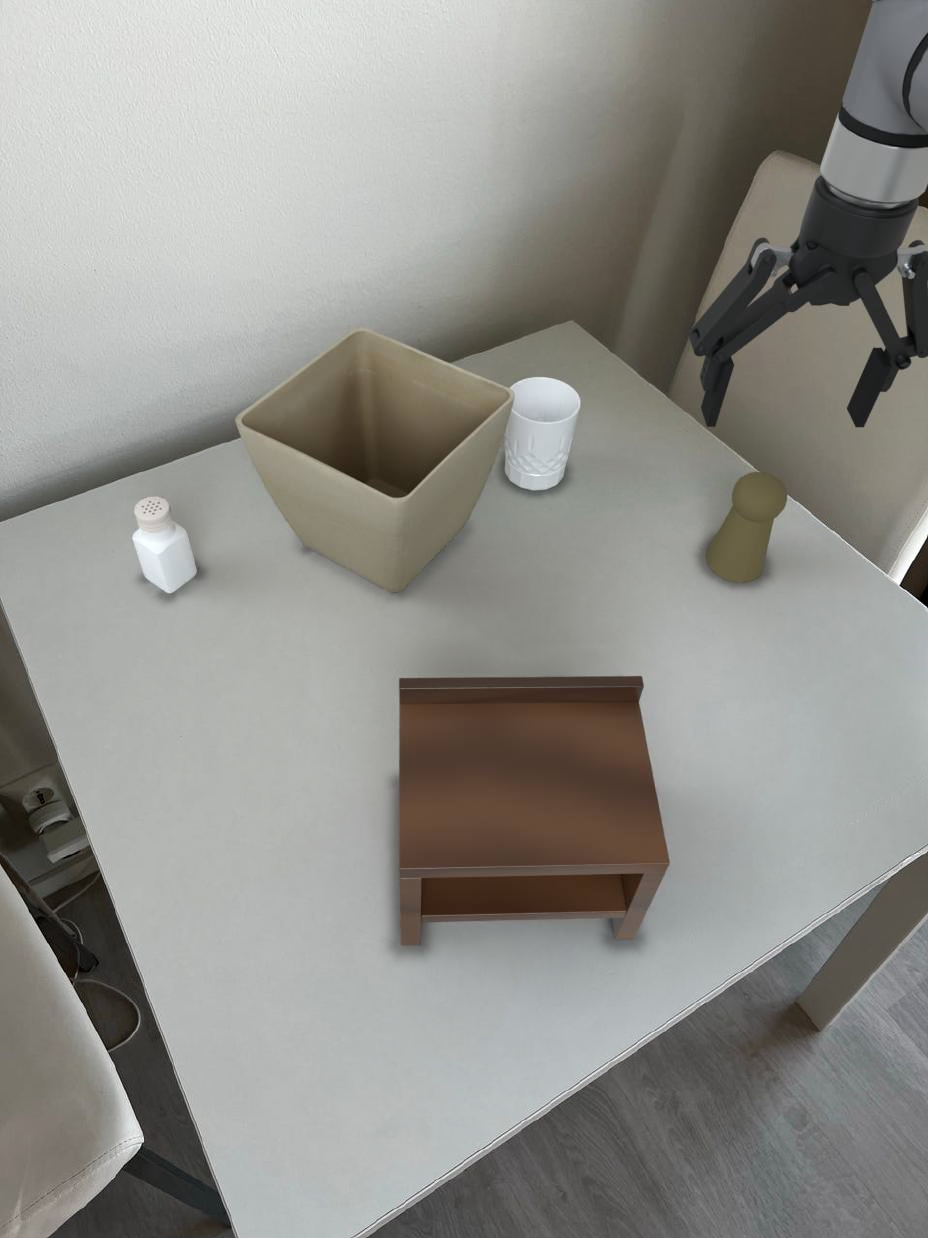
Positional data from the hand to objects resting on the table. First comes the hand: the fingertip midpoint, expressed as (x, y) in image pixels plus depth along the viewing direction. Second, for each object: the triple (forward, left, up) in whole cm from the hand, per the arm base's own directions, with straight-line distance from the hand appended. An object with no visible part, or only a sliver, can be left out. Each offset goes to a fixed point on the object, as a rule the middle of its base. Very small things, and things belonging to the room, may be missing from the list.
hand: (781, 417), depth 86 cm
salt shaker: (-2, +57, -19) cm, 61 cm away
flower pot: (+4, +36, -19) cm, 41 cm away
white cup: (+14, +19, -19) cm, 30 cm away
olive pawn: (0, -1, -19) cm, 19 cm away
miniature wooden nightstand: (-33, +25, -19) cm, 46 cm away
